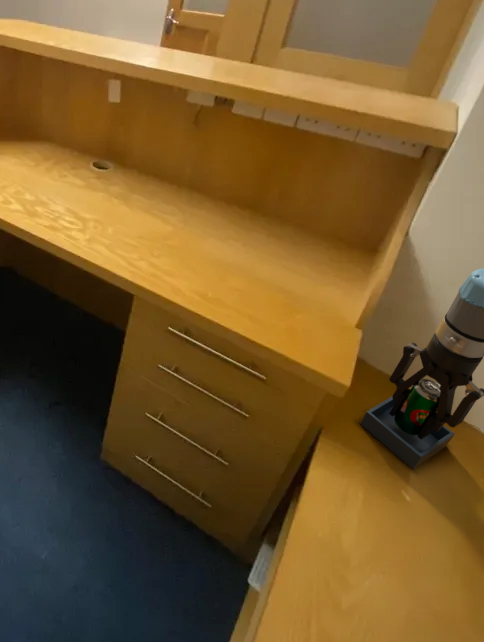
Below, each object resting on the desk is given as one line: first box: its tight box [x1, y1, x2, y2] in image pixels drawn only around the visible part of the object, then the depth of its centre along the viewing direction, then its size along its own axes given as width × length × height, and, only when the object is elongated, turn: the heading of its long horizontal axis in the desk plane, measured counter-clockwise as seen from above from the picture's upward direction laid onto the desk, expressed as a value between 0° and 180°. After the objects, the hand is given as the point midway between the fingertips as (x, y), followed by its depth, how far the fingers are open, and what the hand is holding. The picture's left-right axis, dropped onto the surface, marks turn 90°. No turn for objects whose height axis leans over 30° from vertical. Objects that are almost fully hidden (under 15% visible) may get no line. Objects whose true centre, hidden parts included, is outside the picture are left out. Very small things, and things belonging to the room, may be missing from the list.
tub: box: [359, 396, 456, 470], centre depth 105 cm, size 11×11×4 cm
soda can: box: [394, 378, 441, 435], centre depth 101 cm, size 5×5×12 cm
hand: (408, 423), depth 104 cm, fingers closed on soda can, 5 cm apart
